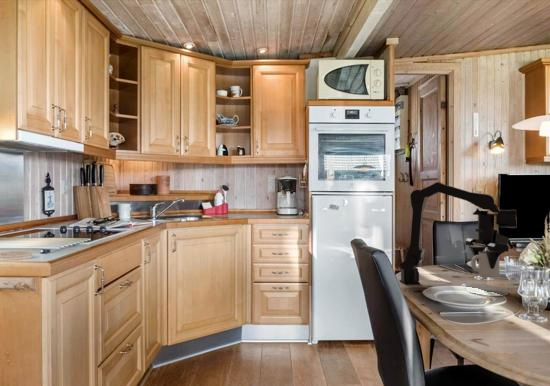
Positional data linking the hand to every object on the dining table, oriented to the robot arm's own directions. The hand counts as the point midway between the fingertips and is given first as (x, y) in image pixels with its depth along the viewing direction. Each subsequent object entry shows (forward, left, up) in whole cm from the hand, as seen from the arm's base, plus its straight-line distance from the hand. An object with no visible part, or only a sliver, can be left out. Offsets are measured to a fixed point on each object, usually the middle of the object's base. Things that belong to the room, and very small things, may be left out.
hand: (485, 266), depth 160 cm
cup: (0, 0, -4) cm, 4 cm away
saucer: (0, 0, -10) cm, 10 cm away
